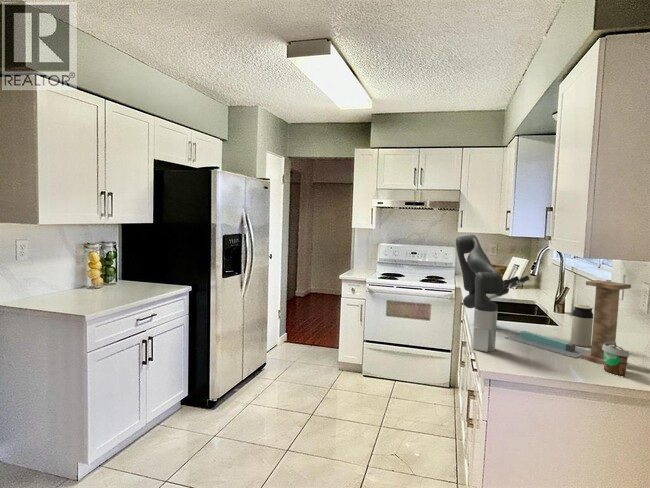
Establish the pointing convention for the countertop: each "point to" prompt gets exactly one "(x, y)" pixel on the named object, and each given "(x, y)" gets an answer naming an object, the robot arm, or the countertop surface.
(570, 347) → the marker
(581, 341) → the travel mug
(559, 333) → the countertop surface
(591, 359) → the walnut stand
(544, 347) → the grey mat
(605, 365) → the food container
